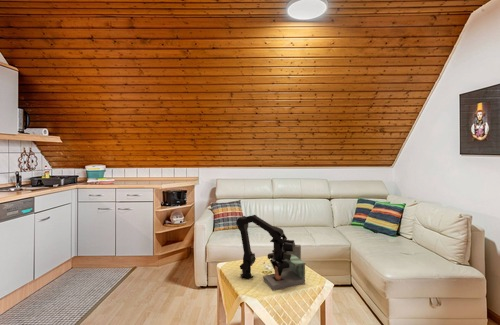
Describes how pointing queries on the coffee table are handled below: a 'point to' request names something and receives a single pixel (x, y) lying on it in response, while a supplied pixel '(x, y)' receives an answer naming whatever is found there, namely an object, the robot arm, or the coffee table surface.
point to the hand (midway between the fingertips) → (278, 273)
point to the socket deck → (283, 280)
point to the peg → (277, 275)
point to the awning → (297, 266)
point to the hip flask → (296, 253)
